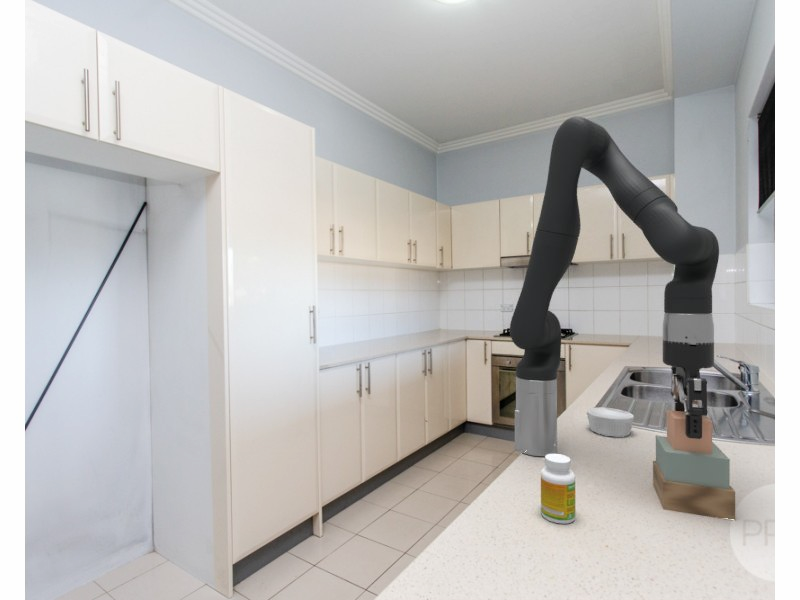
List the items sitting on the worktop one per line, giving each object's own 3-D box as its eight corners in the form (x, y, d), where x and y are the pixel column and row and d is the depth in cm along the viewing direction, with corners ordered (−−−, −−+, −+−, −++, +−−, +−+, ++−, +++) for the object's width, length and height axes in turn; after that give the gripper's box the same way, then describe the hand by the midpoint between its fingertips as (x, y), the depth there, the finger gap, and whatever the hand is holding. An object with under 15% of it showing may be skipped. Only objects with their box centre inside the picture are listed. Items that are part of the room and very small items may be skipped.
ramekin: (638, 431, 113) (638, 411, 113) (627, 442, 105) (627, 421, 105) (594, 423, 121) (594, 404, 121) (581, 433, 112) (581, 413, 112)
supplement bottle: (572, 528, 66) (572, 466, 66) (537, 518, 69) (537, 459, 69) (578, 513, 71) (577, 455, 71) (545, 504, 74) (544, 449, 74)
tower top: (665, 480, 72) (665, 451, 72) (655, 461, 81) (655, 435, 81) (729, 489, 69) (729, 459, 69) (712, 468, 77) (712, 441, 77)
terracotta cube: (674, 449, 73) (674, 418, 73) (666, 439, 78) (666, 410, 78) (712, 454, 71) (712, 421, 71) (702, 443, 76) (702, 413, 76)
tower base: (663, 510, 72) (663, 481, 72) (653, 486, 81) (653, 460, 81) (735, 522, 68) (735, 491, 68) (715, 495, 77) (715, 468, 77)
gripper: (656, 334, 82) (656, 417, 83) (670, 342, 69) (670, 440, 70) (702, 335, 80) (702, 421, 80) (726, 344, 66) (726, 446, 67)
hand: (687, 430), depth 75 cm, fingers open, 8 cm apart
